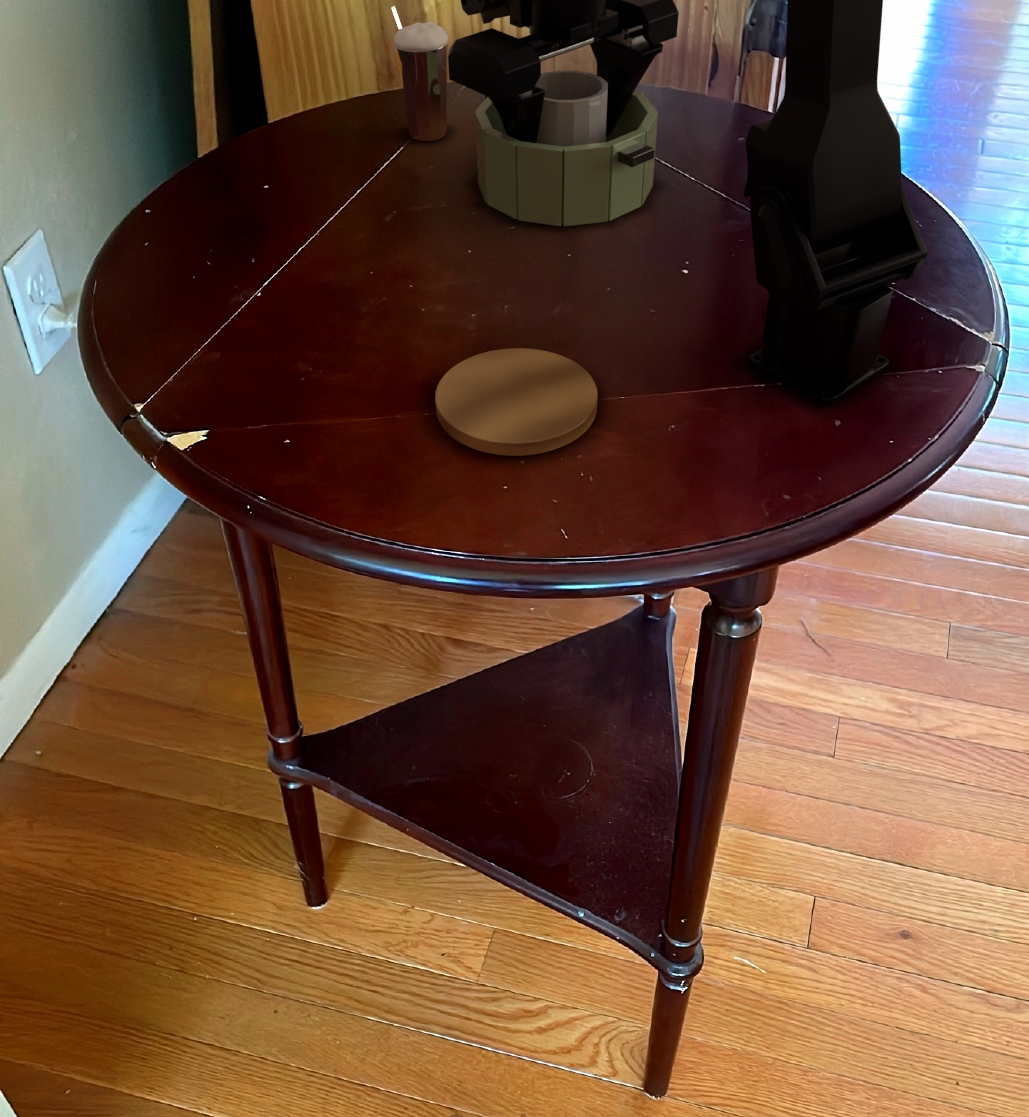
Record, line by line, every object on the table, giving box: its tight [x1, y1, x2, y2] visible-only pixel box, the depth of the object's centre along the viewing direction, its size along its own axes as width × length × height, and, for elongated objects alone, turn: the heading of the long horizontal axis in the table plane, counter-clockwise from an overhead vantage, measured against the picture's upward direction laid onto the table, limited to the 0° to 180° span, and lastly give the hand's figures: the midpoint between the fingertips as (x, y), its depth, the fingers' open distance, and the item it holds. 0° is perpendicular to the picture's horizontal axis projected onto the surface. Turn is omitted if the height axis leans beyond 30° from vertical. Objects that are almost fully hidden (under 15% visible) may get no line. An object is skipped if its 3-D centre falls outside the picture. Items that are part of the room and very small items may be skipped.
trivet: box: [434, 347, 599, 457], centre depth 69 cm, size 10×10×1 cm
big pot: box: [474, 89, 659, 227], centre depth 89 cm, size 17×14×6 cm
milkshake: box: [390, 5, 449, 142], centre depth 96 cm, size 4×5×10 cm
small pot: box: [535, 69, 608, 147], centre depth 89 cm, size 6×6×8 cm
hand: (565, 150), depth 89 cm, fingers open, 8 cm apart
